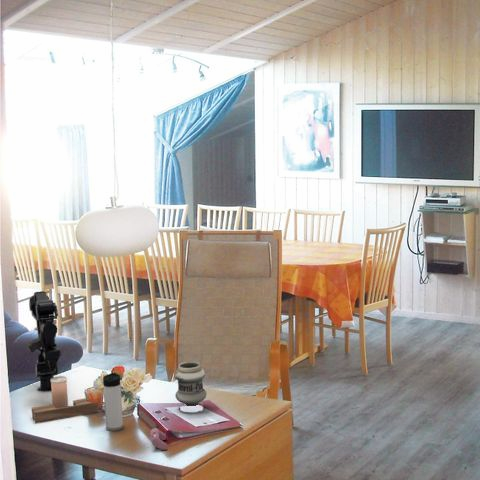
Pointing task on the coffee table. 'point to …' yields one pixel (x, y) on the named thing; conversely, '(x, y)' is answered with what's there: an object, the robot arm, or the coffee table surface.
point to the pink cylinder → (59, 392)
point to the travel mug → (113, 402)
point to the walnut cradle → (63, 411)
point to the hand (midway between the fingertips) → (49, 368)
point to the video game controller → (158, 439)
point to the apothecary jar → (190, 383)
